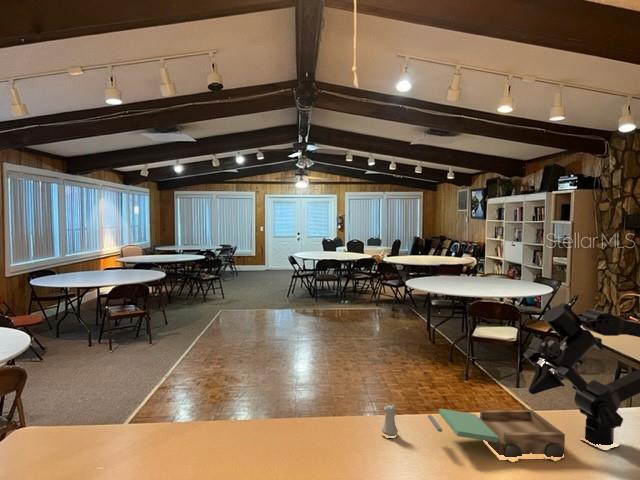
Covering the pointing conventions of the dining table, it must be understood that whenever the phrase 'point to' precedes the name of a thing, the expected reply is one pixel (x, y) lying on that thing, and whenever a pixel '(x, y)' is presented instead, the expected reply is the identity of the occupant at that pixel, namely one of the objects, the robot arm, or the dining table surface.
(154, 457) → the dining table surface
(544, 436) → the cart
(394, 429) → the rook chess piece
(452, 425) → the panel
